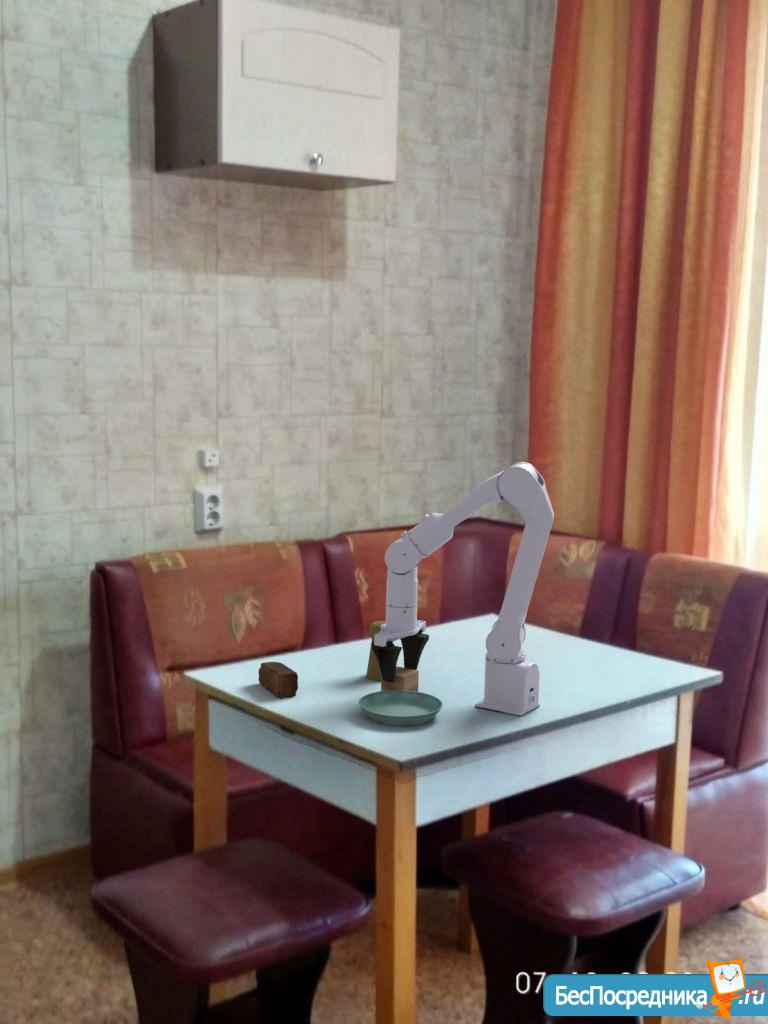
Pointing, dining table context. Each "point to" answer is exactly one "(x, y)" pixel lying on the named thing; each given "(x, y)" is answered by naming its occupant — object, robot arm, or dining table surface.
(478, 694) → the dining table surface
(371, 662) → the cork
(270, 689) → the brick
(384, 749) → the dining table surface
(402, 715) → the saucer
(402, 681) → the walnut block
